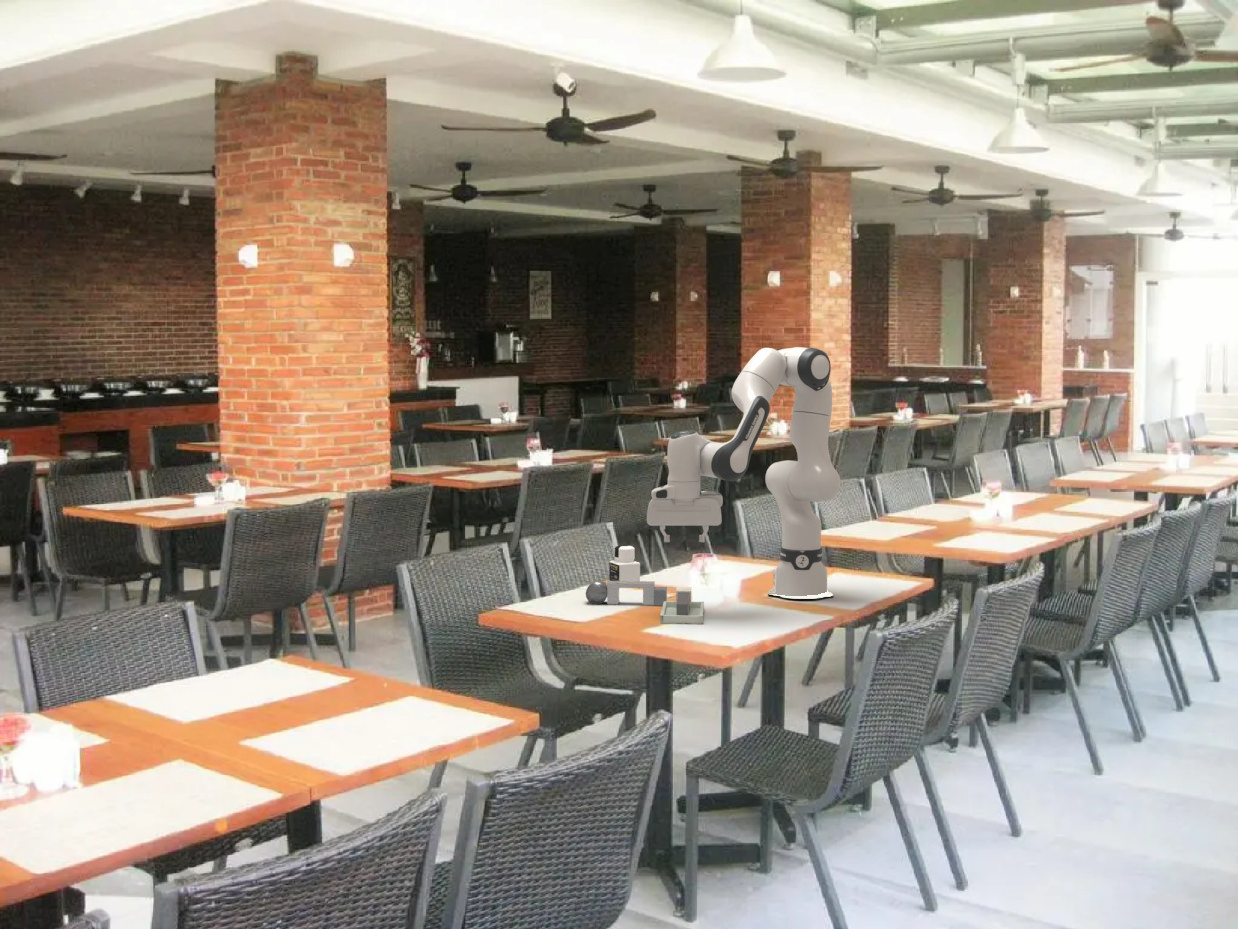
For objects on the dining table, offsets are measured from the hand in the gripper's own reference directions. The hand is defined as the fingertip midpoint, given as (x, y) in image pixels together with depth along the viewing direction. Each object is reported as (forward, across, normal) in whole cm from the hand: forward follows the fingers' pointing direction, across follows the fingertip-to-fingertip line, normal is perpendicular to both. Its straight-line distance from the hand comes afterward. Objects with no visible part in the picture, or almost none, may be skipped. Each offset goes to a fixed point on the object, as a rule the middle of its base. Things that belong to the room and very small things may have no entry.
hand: (684, 542), depth 359 cm
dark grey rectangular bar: (+18, 0, +2) cm, 18 cm away
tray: (+19, 0, +5) cm, 20 cm away
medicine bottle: (+20, +19, -40) cm, 48 cm away
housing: (+19, +17, -11) cm, 27 cm away
